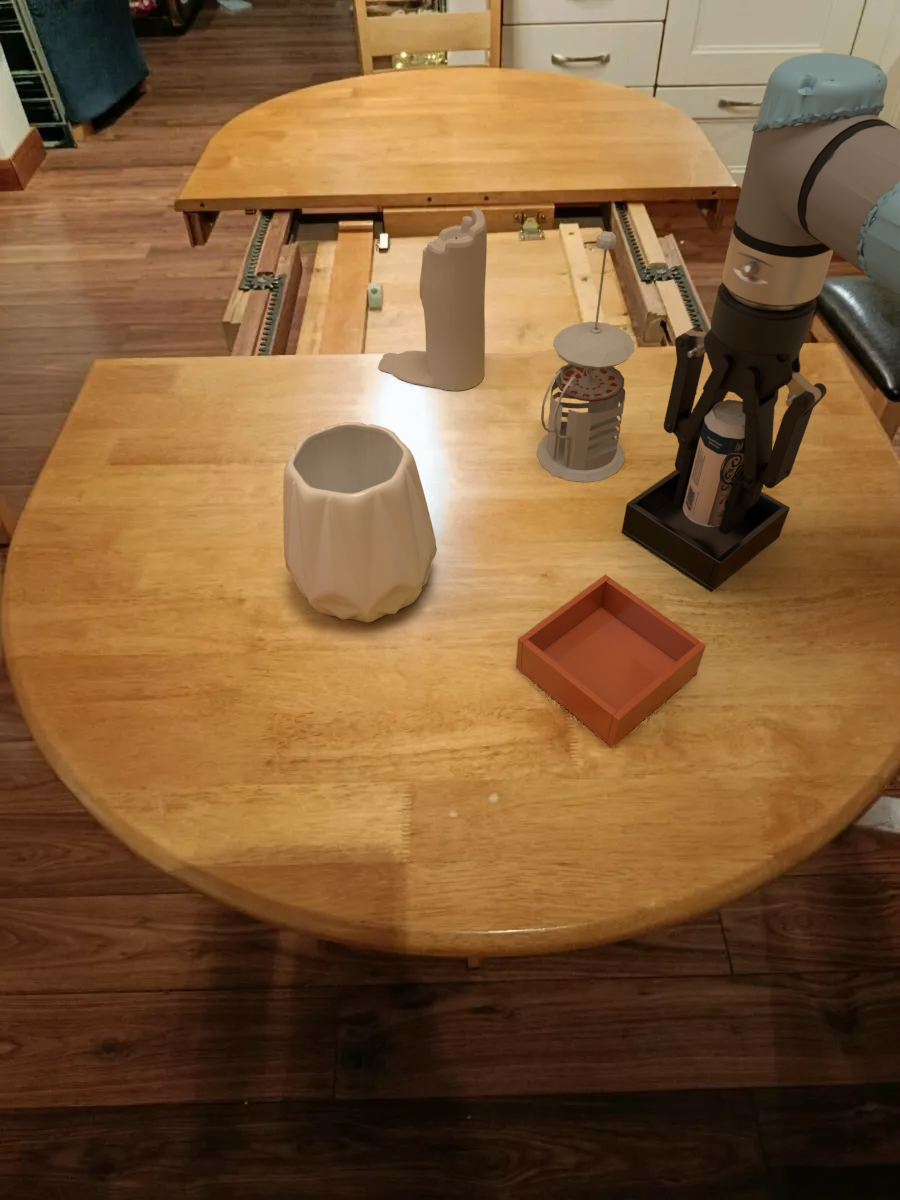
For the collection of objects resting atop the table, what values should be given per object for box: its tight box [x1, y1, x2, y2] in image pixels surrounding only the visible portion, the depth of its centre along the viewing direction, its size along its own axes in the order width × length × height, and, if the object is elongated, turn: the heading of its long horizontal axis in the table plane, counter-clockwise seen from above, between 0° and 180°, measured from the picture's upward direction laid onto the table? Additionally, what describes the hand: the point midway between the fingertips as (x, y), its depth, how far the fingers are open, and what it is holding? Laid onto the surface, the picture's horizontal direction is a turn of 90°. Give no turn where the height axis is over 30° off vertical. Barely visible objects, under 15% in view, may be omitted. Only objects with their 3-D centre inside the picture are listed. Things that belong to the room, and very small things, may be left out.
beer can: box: [683, 399, 745, 527], centre depth 79 cm, size 5×5×12 cm
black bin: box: [621, 469, 791, 593], centre depth 84 cm, size 11×11×4 cm
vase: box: [282, 421, 438, 623], centre depth 77 cm, size 14×14×15 cm
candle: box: [377, 206, 488, 392], centre depth 99 cm, size 7×14×20 cm, turn 72°
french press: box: [536, 230, 635, 483], centre depth 85 cm, size 10×12×25 cm
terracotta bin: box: [515, 574, 706, 748], centre depth 73 cm, size 11×11×4 cm
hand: (707, 511), depth 83 cm, fingers closed on beer can, 5 cm apart
